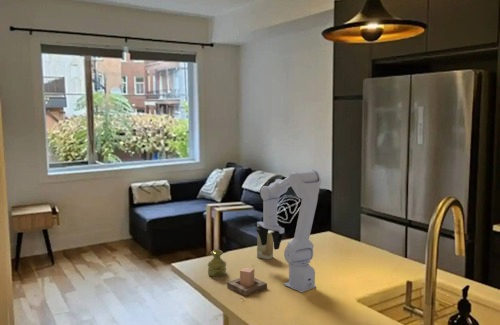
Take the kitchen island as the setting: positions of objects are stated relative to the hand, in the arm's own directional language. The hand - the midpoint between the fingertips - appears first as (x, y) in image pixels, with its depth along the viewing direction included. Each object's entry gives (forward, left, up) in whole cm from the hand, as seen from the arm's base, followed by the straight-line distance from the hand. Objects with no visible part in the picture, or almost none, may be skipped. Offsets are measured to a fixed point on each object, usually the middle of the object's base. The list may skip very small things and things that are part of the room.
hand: (270, 246), depth 183 cm
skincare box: (+12, -8, -10) cm, 17 cm away
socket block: (-9, +20, -9) cm, 24 cm away
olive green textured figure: (+10, +20, -10) cm, 24 cm away
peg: (-9, +20, -10) cm, 24 cm away
